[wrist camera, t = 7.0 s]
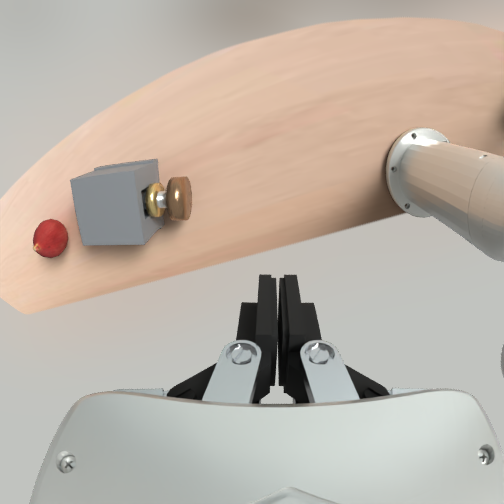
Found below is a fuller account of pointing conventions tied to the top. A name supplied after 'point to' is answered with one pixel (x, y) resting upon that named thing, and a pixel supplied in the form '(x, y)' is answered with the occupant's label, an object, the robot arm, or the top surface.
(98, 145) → the top surface
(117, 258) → the top surface
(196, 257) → the top surface
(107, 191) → the housing
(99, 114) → the top surface
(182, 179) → the shaft
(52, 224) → the onion
